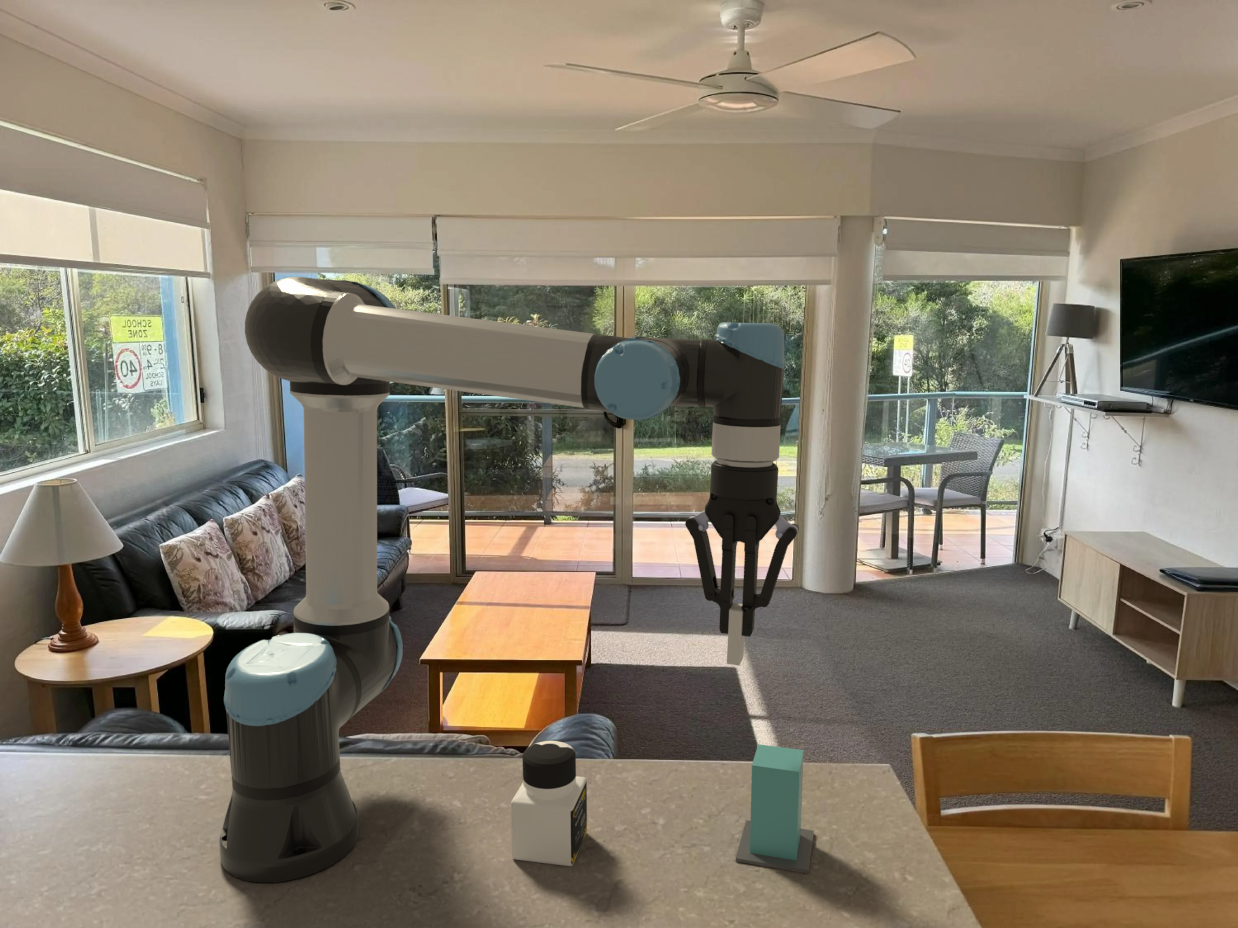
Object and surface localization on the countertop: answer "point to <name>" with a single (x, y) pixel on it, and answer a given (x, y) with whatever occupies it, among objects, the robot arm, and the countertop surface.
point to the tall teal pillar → (776, 801)
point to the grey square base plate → (776, 862)
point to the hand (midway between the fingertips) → (735, 660)
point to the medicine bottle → (549, 806)
